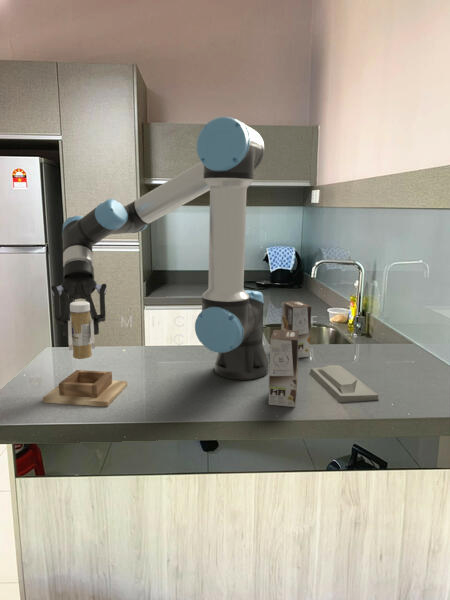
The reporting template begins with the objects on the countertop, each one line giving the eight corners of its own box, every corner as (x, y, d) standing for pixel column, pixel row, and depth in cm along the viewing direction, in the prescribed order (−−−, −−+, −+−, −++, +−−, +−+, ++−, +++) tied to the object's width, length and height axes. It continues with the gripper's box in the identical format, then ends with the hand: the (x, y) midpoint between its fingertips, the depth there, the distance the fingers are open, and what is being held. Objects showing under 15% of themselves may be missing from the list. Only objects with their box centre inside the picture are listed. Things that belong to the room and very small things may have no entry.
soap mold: (338, 405, 109) (339, 391, 108) (308, 375, 128) (309, 363, 127) (378, 402, 110) (379, 388, 110) (343, 373, 130) (344, 361, 129)
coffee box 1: (310, 357, 142) (312, 306, 139) (291, 358, 140) (292, 307, 137) (297, 348, 151) (299, 300, 147) (279, 350, 149) (280, 301, 146)
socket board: (127, 385, 119) (126, 370, 118) (107, 406, 106) (107, 389, 105) (68, 382, 121) (67, 366, 120) (42, 402, 108) (41, 385, 107)
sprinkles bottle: (69, 356, 112) (65, 302, 109) (85, 352, 115) (82, 299, 112) (79, 360, 109) (76, 305, 106) (96, 356, 112) (93, 302, 109)
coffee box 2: (295, 407, 106) (298, 340, 103) (267, 405, 107) (269, 338, 104) (297, 392, 115) (299, 329, 111) (271, 390, 116) (273, 328, 113)
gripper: (112, 275, 125) (119, 351, 113) (44, 277, 120) (43, 357, 108) (113, 257, 119) (120, 336, 107) (41, 259, 114) (40, 341, 102)
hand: (81, 346), depth 108 cm, fingers closed on sprinkles bottle, 4 cm apart
